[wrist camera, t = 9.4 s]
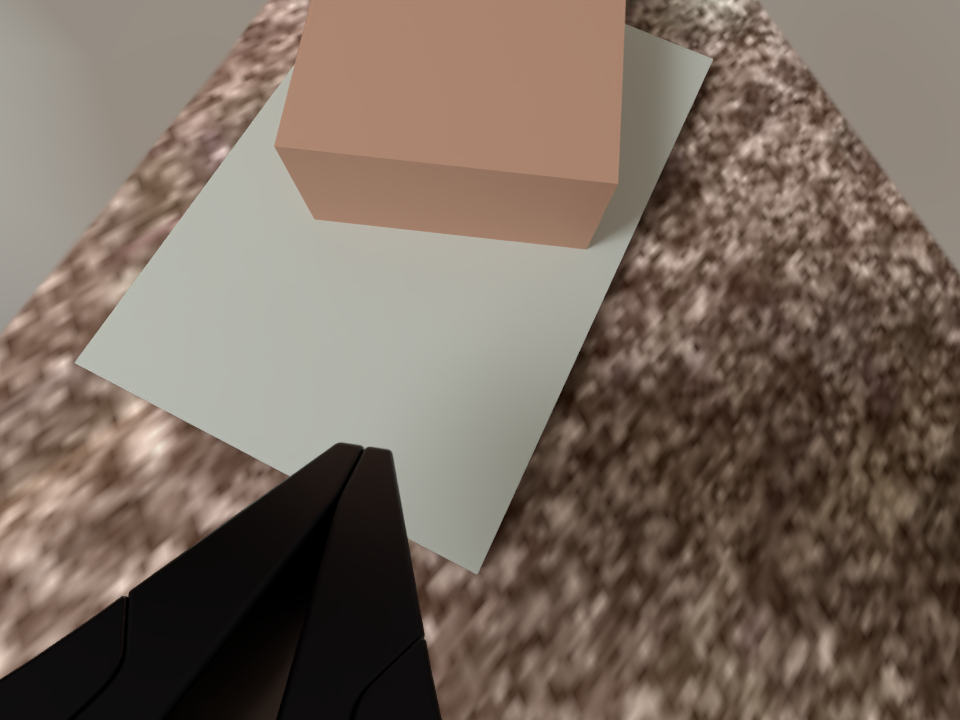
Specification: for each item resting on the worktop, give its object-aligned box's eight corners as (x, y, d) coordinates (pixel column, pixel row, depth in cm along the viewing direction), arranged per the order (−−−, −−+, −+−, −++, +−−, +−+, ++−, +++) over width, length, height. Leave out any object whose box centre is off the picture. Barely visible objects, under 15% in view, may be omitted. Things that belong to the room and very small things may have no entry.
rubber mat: (707, 69, 21) (713, 59, 21) (476, 572, 16) (477, 575, 15) (394, -58, 23) (393, -69, 22) (85, 366, 17) (74, 362, 17)
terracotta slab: (618, 184, 15) (629, -93, 17) (274, 145, 15) (342, -124, 17) (586, 249, 18) (600, 14, 21) (314, 219, 18) (364, -11, 21)
